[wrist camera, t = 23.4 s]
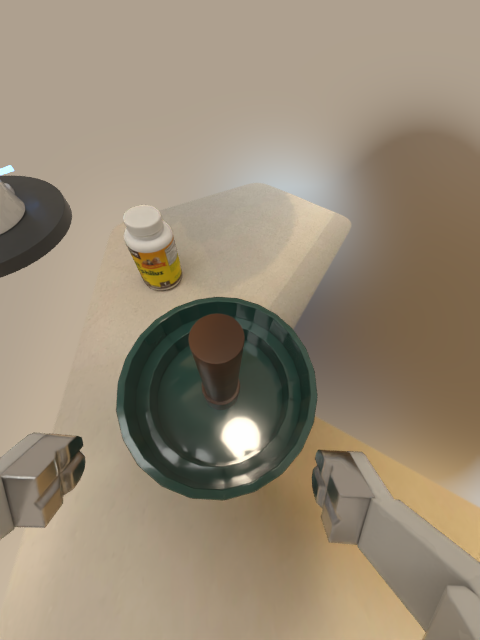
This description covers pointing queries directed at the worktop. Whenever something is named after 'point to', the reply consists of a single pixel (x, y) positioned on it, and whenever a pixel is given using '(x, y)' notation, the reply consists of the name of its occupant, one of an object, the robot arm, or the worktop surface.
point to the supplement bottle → (152, 247)
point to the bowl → (206, 422)
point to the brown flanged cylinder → (218, 358)
